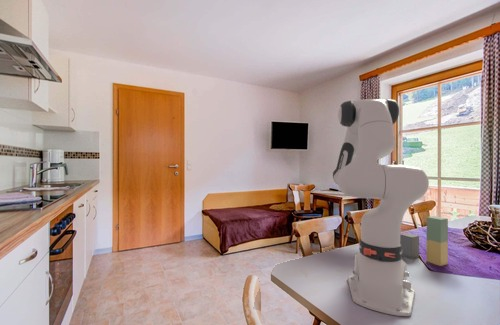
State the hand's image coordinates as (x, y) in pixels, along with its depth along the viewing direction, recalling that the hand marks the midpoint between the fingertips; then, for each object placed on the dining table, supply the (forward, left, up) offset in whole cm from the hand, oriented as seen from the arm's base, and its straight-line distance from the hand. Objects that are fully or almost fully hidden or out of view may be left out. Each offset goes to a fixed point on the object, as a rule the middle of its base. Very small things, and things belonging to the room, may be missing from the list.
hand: (399, 184), depth 110 cm
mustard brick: (-8, -12, -30) cm, 34 cm away
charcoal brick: (-5, -3, -30) cm, 31 cm away
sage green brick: (-8, -12, -21) cm, 26 cm away
